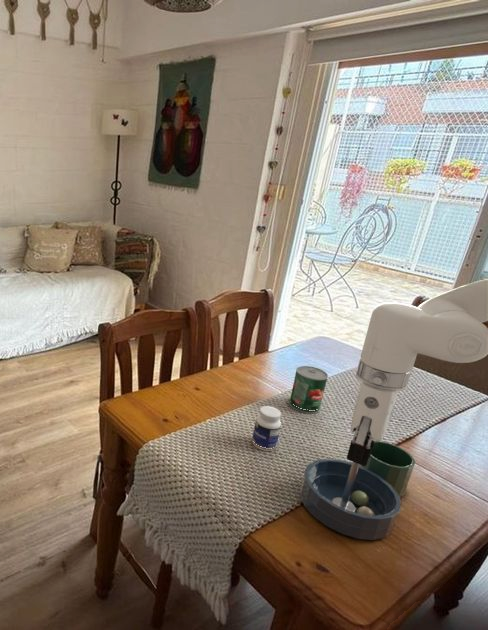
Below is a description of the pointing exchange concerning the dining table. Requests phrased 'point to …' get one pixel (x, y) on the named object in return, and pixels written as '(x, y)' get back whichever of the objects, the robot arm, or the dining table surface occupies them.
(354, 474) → the black-handled disc rod
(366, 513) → the ball
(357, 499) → the ball
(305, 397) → the canned tomato
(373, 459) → the cup
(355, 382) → the dining table surface
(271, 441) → the pill bottle
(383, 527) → the bowl
